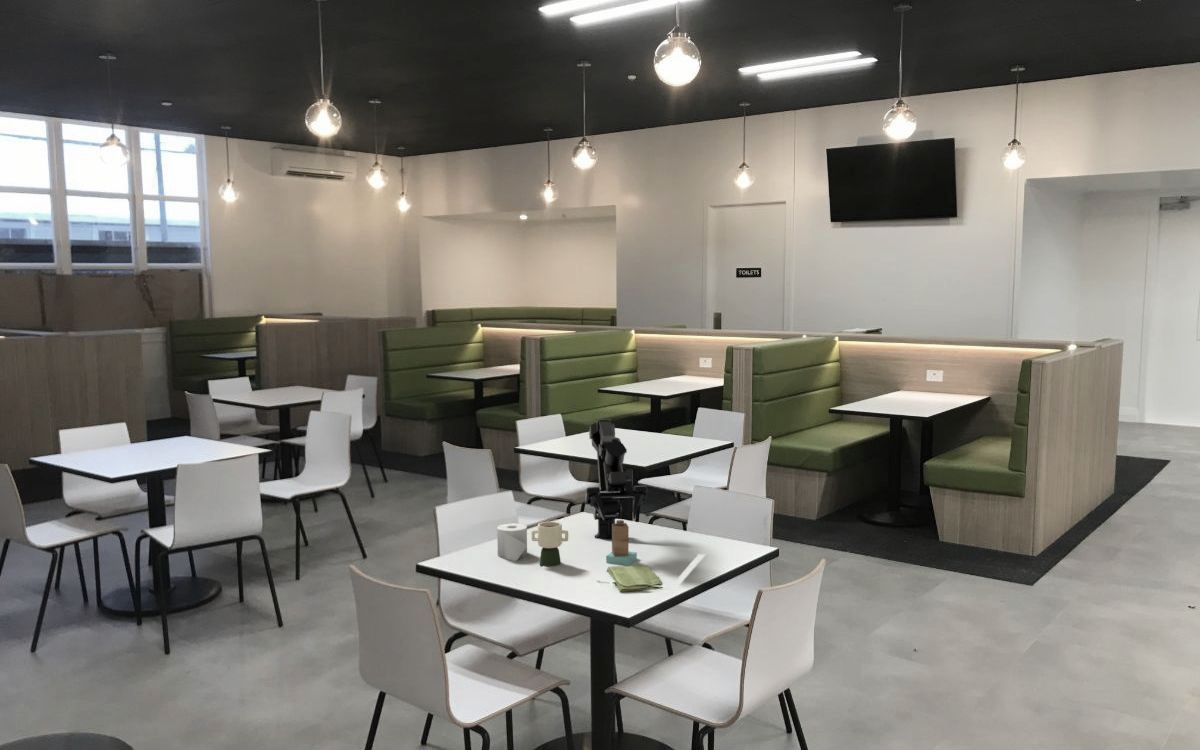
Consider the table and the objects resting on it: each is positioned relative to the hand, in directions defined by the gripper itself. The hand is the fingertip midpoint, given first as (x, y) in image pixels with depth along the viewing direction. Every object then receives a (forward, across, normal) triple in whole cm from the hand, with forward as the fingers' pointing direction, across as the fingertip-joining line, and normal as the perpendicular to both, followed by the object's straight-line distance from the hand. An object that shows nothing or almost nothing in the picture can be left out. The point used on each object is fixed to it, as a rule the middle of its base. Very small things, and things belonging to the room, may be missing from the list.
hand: (619, 518), depth 273 cm
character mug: (+11, -21, +8) cm, 25 cm away
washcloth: (+23, +1, -4) cm, 24 cm away
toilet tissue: (+1, -31, +18) cm, 36 cm away
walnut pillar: (+9, 0, +5) cm, 10 cm away
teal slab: (+10, 0, +6) cm, 12 cm away
